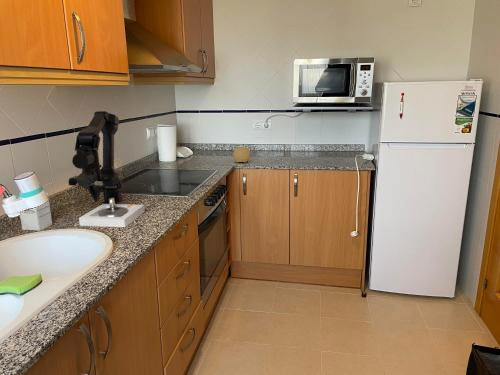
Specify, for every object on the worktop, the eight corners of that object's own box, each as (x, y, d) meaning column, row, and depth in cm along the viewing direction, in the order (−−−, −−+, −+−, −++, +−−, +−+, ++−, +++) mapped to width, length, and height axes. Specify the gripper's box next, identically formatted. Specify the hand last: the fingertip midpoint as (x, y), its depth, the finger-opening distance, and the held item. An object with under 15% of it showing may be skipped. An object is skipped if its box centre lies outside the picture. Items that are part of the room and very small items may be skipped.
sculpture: (250, 160, 264) (250, 145, 262) (250, 163, 253) (249, 147, 250) (234, 160, 265) (233, 145, 262) (233, 164, 253) (232, 148, 250)
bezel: (79, 225, 142) (78, 217, 141) (104, 210, 159) (103, 203, 158) (125, 227, 139) (124, 218, 138) (144, 211, 157) (144, 204, 156)
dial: (129, 217, 146) (127, 203, 144) (98, 221, 142) (97, 207, 140) (127, 209, 156) (125, 196, 154) (98, 213, 152) (96, 199, 150)
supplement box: (21, 230, 138) (15, 197, 135) (36, 223, 145) (30, 191, 142) (39, 231, 137) (33, 197, 134) (53, 224, 144) (48, 192, 141)
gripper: (56, 167, 143) (62, 207, 147) (103, 168, 140) (108, 208, 144) (74, 161, 153) (79, 198, 157) (117, 162, 151) (121, 199, 155)
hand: (96, 201), depth 153 cm, fingers closed
